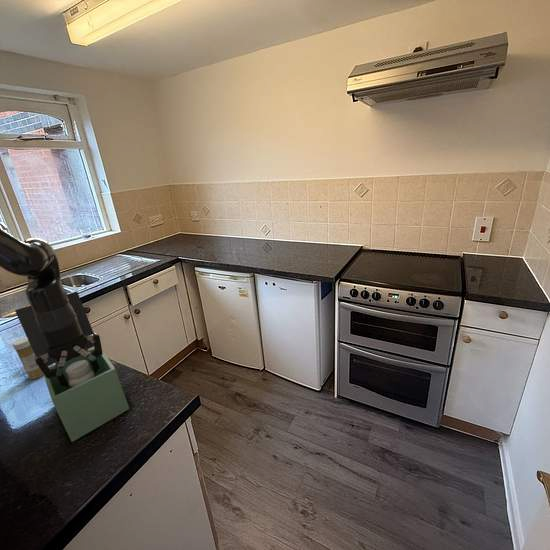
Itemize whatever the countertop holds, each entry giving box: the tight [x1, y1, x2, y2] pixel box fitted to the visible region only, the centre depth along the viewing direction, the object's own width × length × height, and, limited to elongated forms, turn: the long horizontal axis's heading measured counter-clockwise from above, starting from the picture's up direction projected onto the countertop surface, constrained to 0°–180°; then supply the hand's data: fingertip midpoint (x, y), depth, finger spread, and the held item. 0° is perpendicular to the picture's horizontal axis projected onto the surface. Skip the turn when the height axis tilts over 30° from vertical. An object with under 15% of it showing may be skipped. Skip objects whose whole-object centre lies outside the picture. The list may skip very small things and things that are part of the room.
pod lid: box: [14, 290, 94, 367], centre depth 80 cm, size 16×14×1 cm
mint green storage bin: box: [42, 347, 130, 443], centre depth 79 cm, size 16×14×13 cm
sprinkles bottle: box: [12, 336, 44, 380], centre depth 95 cm, size 5×5×13 cm
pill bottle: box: [65, 360, 96, 388], centre depth 78 cm, size 6×6×11 cm
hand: (81, 377), depth 78 cm, fingers closed on pill bottle, 6 cm apart
